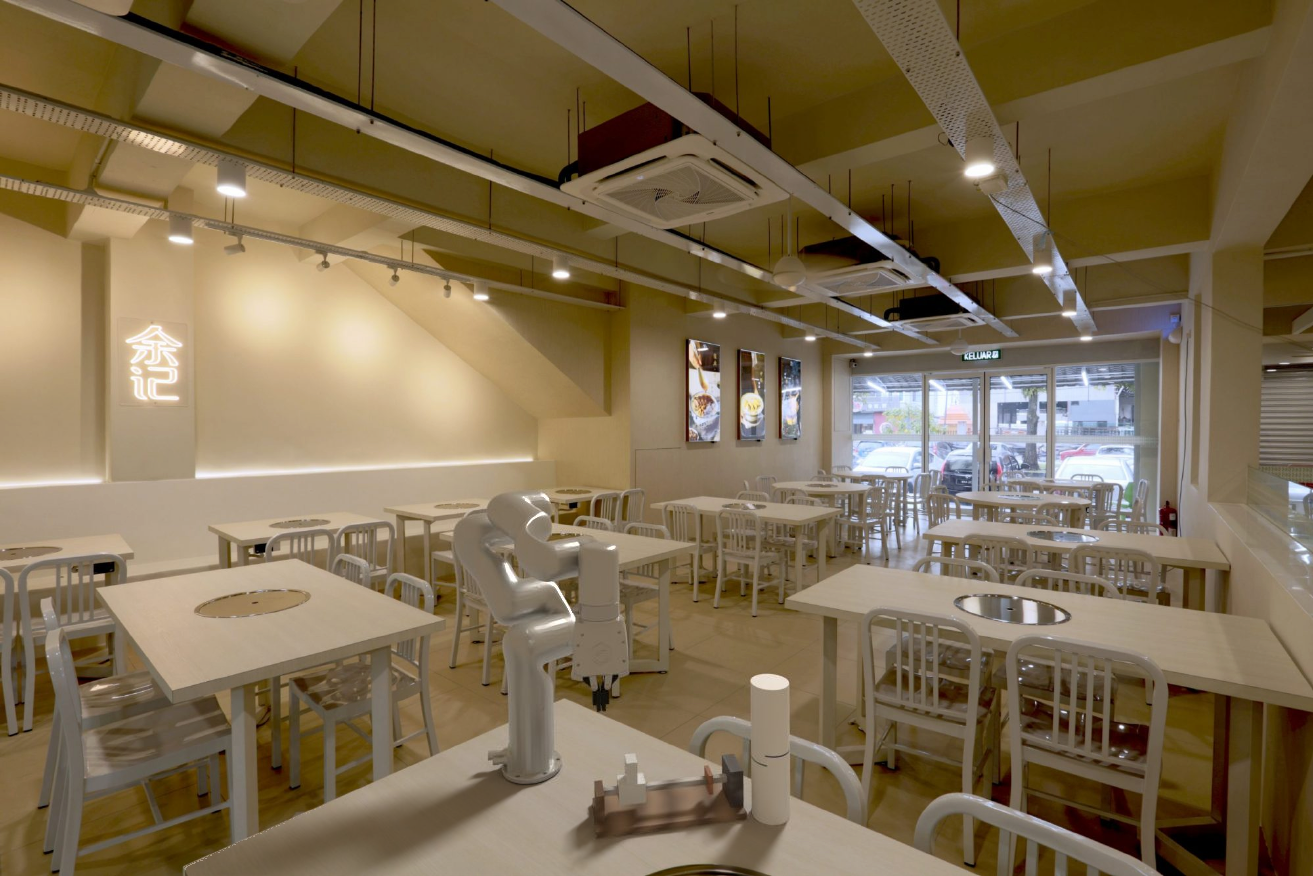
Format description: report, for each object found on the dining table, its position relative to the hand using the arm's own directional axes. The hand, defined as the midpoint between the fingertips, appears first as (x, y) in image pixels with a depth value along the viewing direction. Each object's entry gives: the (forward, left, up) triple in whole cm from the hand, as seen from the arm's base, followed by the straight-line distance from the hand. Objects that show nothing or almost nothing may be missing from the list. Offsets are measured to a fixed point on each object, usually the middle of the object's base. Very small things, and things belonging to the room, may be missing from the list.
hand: (600, 708), depth 112 cm
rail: (+12, 0, -21) cm, 25 cm away
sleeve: (+6, 0, -18) cm, 18 cm away
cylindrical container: (+31, -4, -21) cm, 38 cm away
